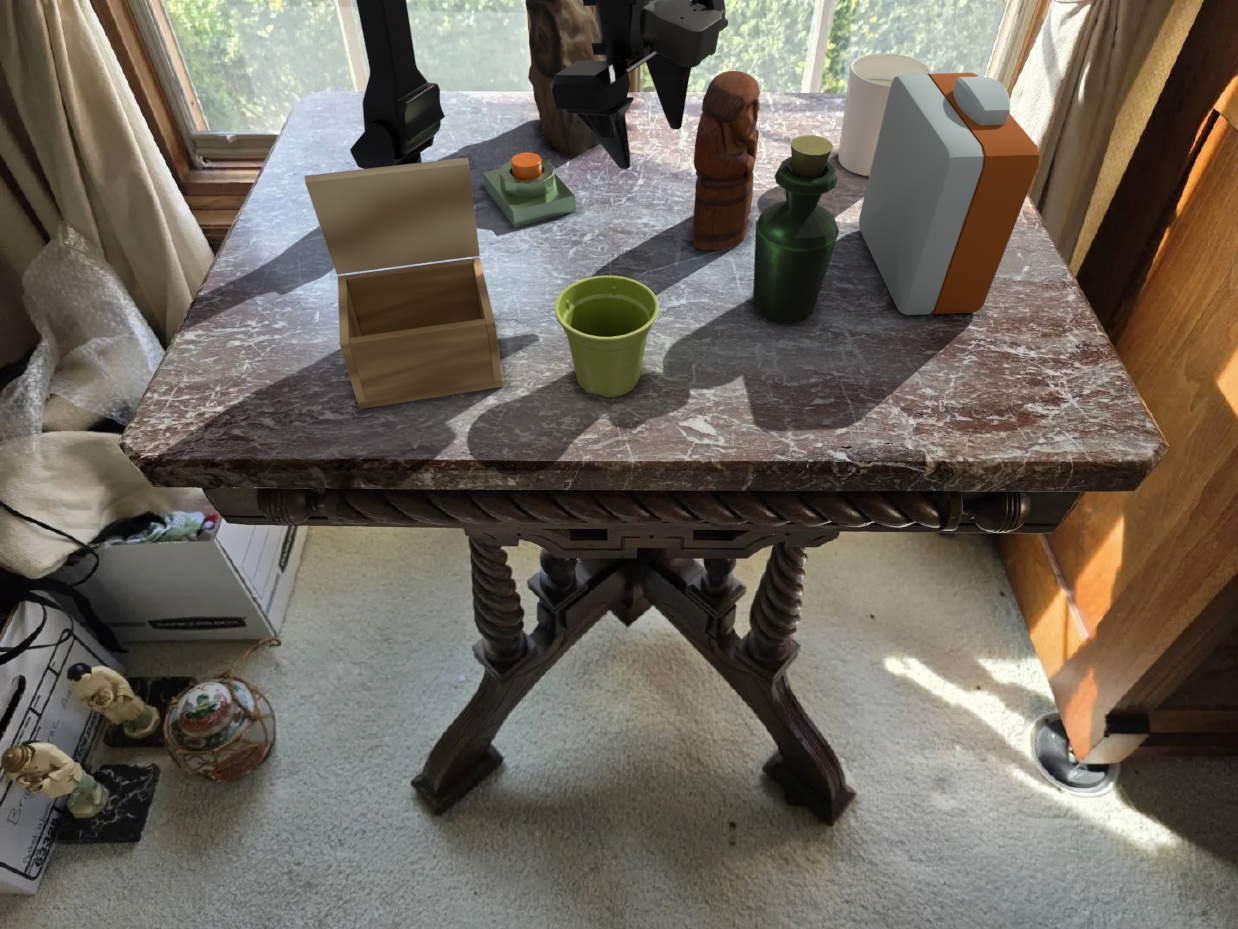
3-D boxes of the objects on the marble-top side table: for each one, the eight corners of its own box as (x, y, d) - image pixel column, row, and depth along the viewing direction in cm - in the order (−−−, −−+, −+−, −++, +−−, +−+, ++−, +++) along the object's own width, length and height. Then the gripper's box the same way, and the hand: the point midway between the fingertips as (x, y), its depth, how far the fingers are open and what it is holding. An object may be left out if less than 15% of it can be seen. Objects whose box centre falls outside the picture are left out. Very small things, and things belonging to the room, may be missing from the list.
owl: (570, 163, 111) (564, -1, 97) (501, 135, 117) (485, -25, 102) (630, 128, 118) (632, -30, 103) (562, 103, 123) (554, -52, 109)
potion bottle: (805, 278, 94) (836, 120, 81) (833, 323, 89) (871, 161, 75) (735, 288, 93) (755, 128, 80) (759, 333, 87) (785, 171, 74)
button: (507, 169, 103) (506, 156, 102) (535, 163, 104) (534, 149, 103) (519, 183, 101) (517, 169, 100) (546, 176, 102) (546, 162, 101)
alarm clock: (981, 318, 89) (1056, 129, 74) (899, 321, 89) (958, 132, 74) (926, 223, 102) (981, 45, 87) (854, 225, 101) (897, 47, 86)
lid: (469, 163, 72) (467, 156, 73) (305, 182, 70) (304, 175, 71) (479, 256, 83) (478, 249, 83) (336, 274, 80) (336, 268, 81)
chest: (503, 386, 82) (495, 322, 76) (359, 409, 80) (339, 344, 74) (488, 320, 89) (479, 256, 83) (355, 339, 87) (337, 275, 81)
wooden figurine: (738, 259, 97) (757, 102, 83) (683, 250, 98) (694, 94, 85) (756, 206, 104) (776, 55, 91) (705, 199, 105) (718, 48, 92)
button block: (484, 189, 107) (481, 159, 104) (543, 174, 109) (541, 145, 106) (514, 227, 101) (511, 197, 98) (575, 211, 103) (574, 181, 100)
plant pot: (585, 423, 78) (582, 350, 72) (543, 364, 84) (538, 291, 78) (673, 391, 81) (678, 319, 75) (627, 336, 87) (628, 264, 81)
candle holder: (917, 156, 113) (943, 63, 104) (891, 187, 107) (916, 93, 99) (848, 137, 117) (867, 46, 108) (820, 167, 111) (837, 73, 102)
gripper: (636, 3, 64) (668, 198, 74) (755, -68, 74) (769, 113, 84) (526, 7, 70) (570, 187, 80) (650, -59, 80) (675, 108, 90)
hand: (651, 147), depth 83 cm, fingers open, 9 cm apart
